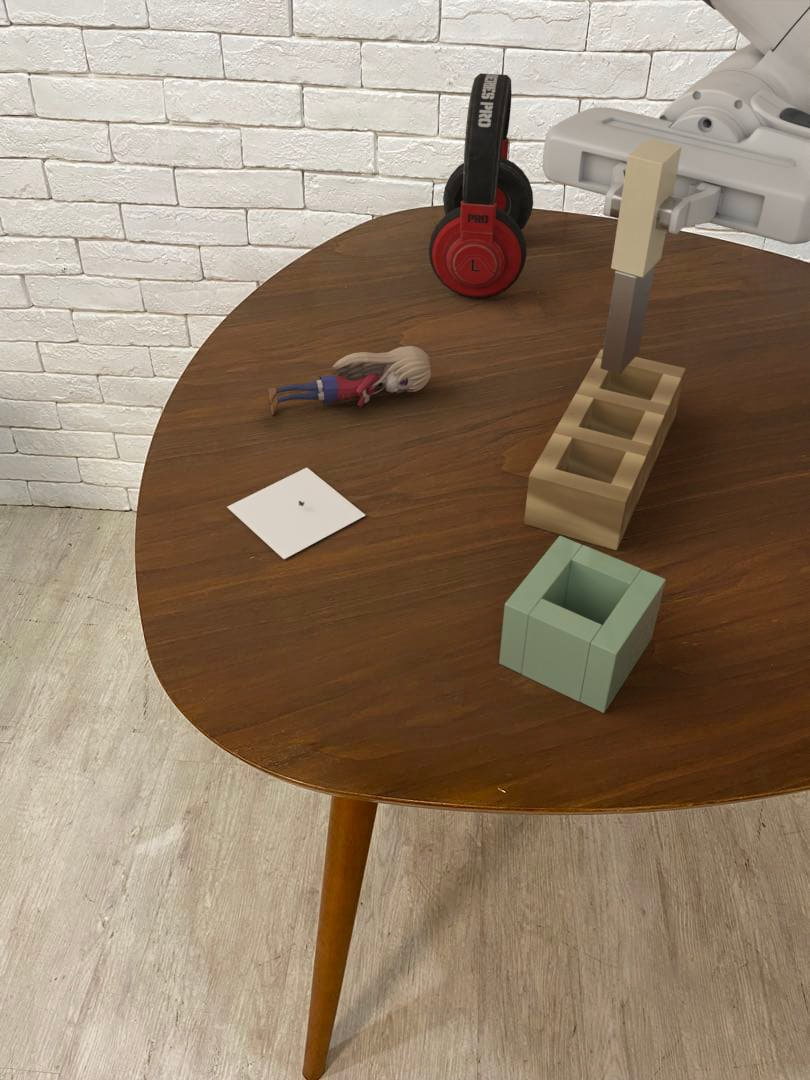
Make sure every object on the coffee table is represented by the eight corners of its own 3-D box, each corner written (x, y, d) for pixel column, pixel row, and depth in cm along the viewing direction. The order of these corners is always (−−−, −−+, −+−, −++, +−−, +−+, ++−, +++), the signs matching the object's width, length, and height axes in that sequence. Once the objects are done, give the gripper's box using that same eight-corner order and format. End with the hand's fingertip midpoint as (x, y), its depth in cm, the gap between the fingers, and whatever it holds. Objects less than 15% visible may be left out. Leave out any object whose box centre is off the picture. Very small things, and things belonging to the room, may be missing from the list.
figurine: (270, 402, 90) (439, 371, 92) (261, 358, 91) (427, 328, 93) (274, 431, 96) (433, 401, 98) (265, 389, 97) (422, 360, 99)
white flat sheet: (226, 507, 85) (225, 499, 84) (306, 467, 89) (306, 460, 88) (283, 559, 80) (283, 552, 80) (365, 515, 84) (365, 507, 83)
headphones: (520, 313, 107) (538, 116, 94) (424, 305, 109) (428, 109, 95) (530, 235, 120) (547, 51, 107) (444, 228, 121) (450, 46, 108)
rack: (594, 395, 97) (601, 348, 93) (675, 415, 94) (685, 368, 91) (523, 524, 84) (528, 475, 80) (616, 550, 81) (626, 501, 78)
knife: (644, 354, 79) (683, 145, 68) (624, 377, 77) (661, 165, 66) (615, 344, 80) (648, 137, 69) (594, 367, 78) (626, 156, 67)
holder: (652, 638, 74) (666, 578, 70) (603, 714, 70) (616, 654, 66) (551, 594, 78) (559, 534, 74) (498, 663, 73) (504, 603, 69)
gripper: (593, 73, 80) (506, 133, 72) (864, 131, 72) (801, 206, 64) (583, 153, 85) (500, 219, 76) (837, 217, 77) (776, 298, 68)
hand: (640, 214), depth 70 cm, fingers closed on knife, 2 cm apart
